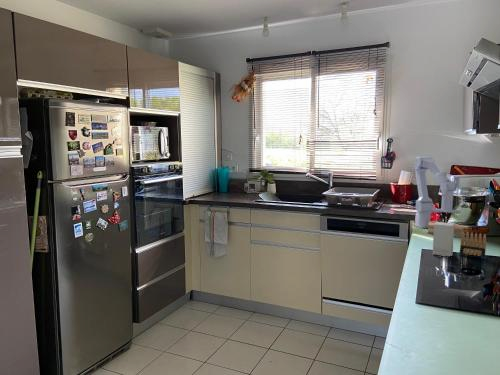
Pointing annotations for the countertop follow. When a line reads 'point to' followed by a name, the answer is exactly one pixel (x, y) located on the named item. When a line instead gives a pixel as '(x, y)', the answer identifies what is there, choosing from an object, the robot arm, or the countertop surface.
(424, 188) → the robot arm
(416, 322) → the countertop surface
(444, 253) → the skincare box
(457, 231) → the storage box
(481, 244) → the ammunition clip
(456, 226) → the lid
